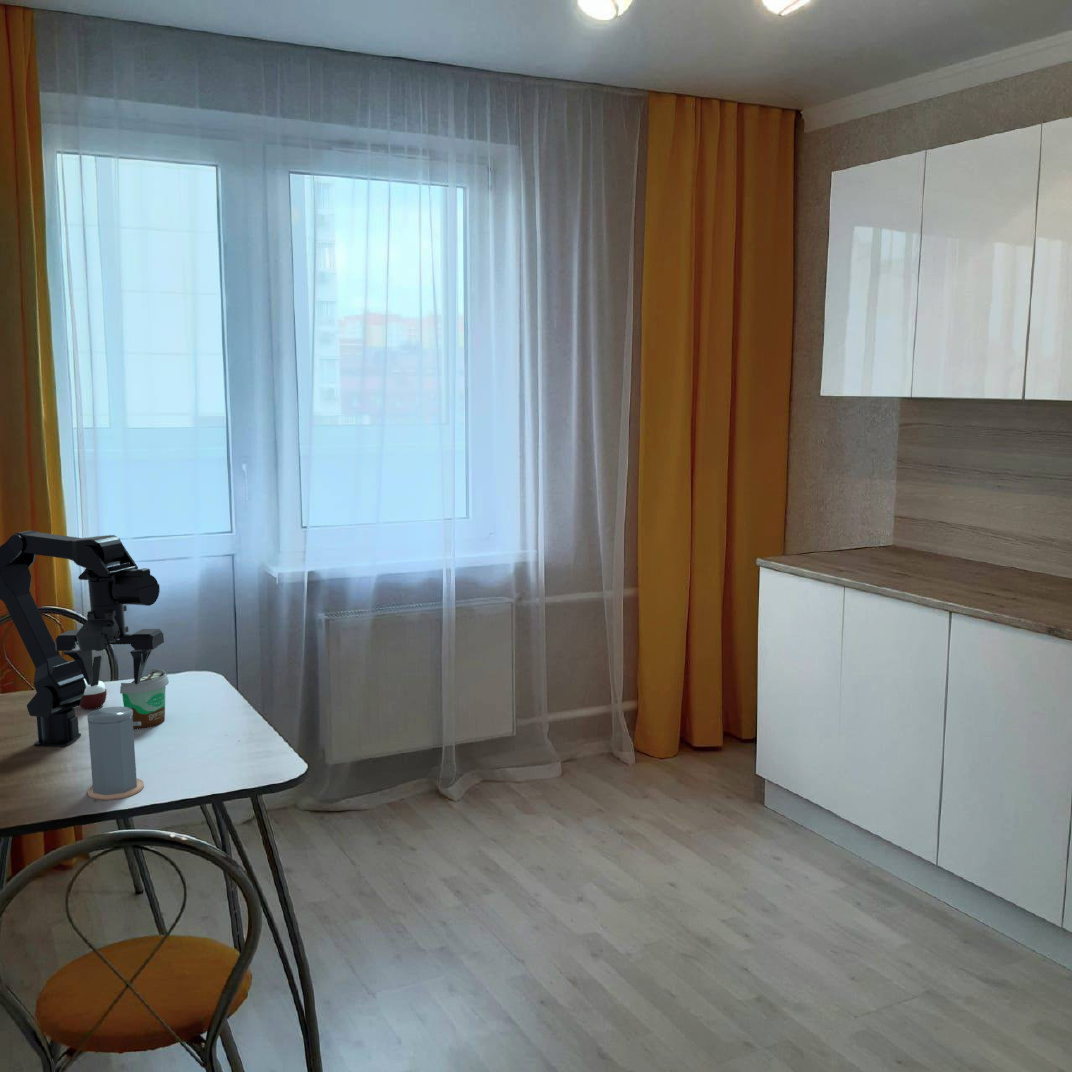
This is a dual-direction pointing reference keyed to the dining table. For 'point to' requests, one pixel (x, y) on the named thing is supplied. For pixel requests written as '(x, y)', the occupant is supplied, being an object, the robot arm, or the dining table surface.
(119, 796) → the terracotta coaster
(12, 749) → the dining table surface
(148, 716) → the food container
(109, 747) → the blue-gray container
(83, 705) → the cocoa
